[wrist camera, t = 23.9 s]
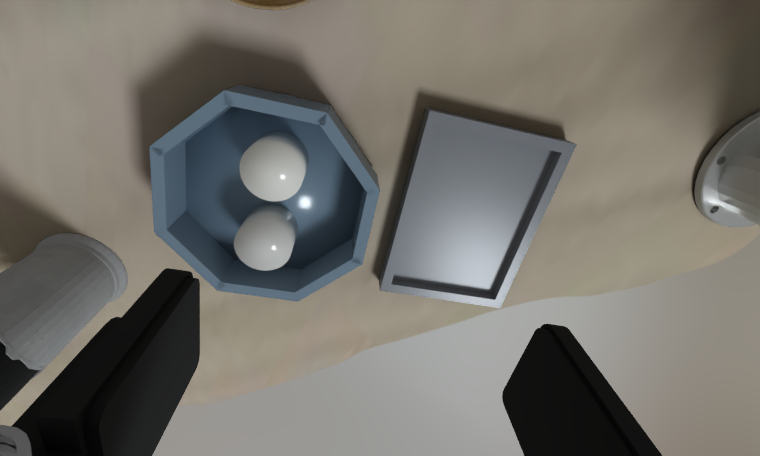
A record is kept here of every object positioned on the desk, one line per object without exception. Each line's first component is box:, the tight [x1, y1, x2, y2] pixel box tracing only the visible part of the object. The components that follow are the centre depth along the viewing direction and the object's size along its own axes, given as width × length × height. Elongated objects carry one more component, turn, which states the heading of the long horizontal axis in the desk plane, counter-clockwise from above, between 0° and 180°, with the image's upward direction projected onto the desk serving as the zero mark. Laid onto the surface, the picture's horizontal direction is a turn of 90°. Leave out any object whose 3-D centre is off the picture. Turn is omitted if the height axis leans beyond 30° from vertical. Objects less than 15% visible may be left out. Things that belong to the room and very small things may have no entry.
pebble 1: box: [239, 131, 309, 201], centre depth 31 cm, size 5×5×4 cm
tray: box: [379, 107, 577, 308], centre depth 36 cm, size 14×19×2 cm
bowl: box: [149, 85, 380, 301], centre depth 32 cm, size 18×18×5 cm
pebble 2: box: [234, 203, 298, 271], centre depth 34 cm, size 5×5×4 cm
